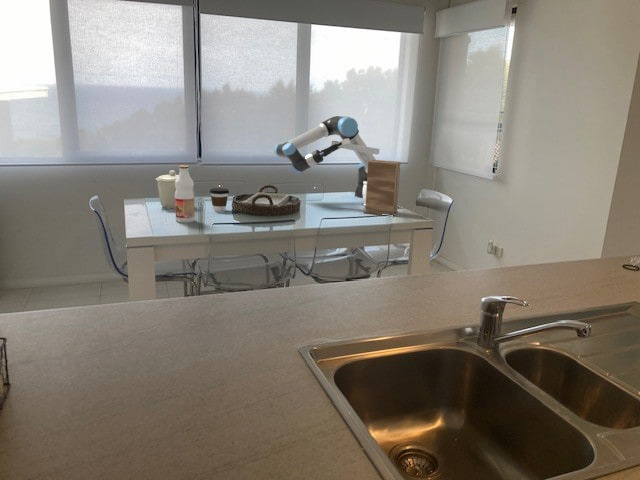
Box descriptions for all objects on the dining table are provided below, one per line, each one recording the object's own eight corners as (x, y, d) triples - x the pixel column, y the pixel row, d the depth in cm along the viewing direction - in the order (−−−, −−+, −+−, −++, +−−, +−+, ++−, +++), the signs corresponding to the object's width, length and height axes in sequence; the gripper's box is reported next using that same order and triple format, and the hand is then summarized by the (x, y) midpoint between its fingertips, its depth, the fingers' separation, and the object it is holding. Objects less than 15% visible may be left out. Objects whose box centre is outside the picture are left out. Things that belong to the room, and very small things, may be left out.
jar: (376, 207, 326) (377, 183, 323) (359, 206, 330) (361, 182, 326) (379, 205, 336) (381, 181, 332) (364, 203, 339) (365, 180, 336)
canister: (194, 205, 311) (193, 169, 306) (183, 211, 294) (182, 173, 289) (164, 203, 313) (162, 167, 308) (151, 209, 296) (150, 171, 290)
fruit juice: (193, 223, 266) (192, 167, 259) (174, 222, 265) (172, 166, 258) (195, 219, 275) (194, 165, 268) (177, 218, 274) (175, 164, 268)
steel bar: (333, 145, 314) (334, 140, 313) (378, 154, 306) (379, 148, 305) (331, 146, 310) (331, 141, 309) (377, 154, 302) (378, 149, 301)
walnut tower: (369, 209, 319) (373, 159, 312) (397, 212, 314) (401, 161, 307) (364, 213, 308) (367, 161, 300) (392, 216, 302) (396, 163, 295)
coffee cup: (205, 210, 297) (205, 189, 294) (217, 208, 306) (217, 187, 303) (221, 213, 292) (221, 191, 289) (233, 210, 302) (233, 189, 299)
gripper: (322, 162, 325) (355, 145, 316) (312, 165, 310) (346, 147, 300) (317, 151, 325) (349, 133, 316) (306, 153, 309) (340, 135, 300)
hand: (348, 140), depth 308 cm, fingers closed on steel bar, 4 cm apart
